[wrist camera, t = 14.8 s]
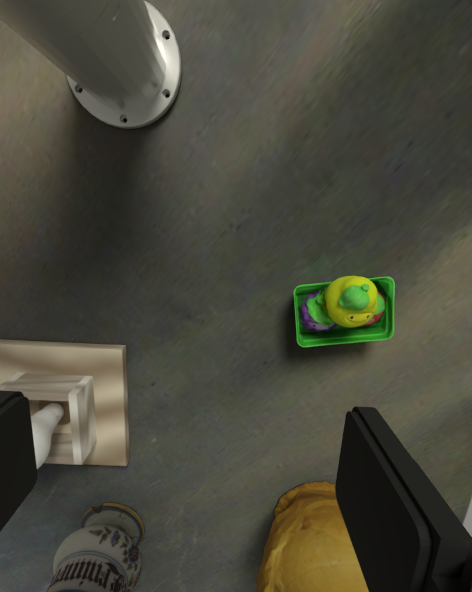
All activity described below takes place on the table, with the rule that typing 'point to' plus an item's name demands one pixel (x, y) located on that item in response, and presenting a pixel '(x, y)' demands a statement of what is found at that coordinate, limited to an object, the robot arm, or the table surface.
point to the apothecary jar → (100, 552)
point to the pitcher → (309, 545)
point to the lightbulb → (45, 430)
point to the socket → (74, 396)
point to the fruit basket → (344, 311)
